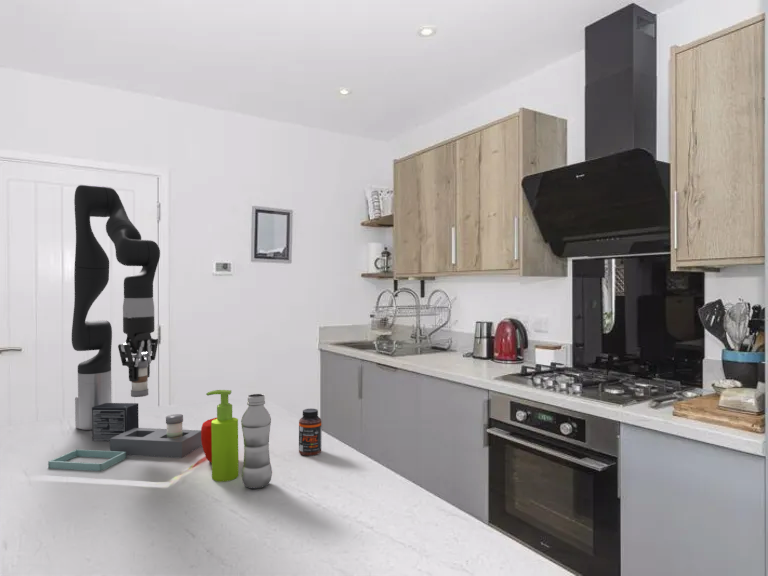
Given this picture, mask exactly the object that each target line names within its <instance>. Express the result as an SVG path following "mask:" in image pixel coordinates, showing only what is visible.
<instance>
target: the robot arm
mask: <svg viewBox="0 0 768 576" xmlns="http://www.w3.org/2000/svg"><path fill="white" fill-rule="evenodd" d="M73 201H74V202H73V203H74V220H75V222H74V223H75V250H74V251H75V255H74V277H73V278H74V280H73V281H74V302H73V303H74V306H73V315H72V324H71V326H72V327H71V345H72V348H73V350H74V351H76V352H87V351H88V352H89V351H97V350H98V352H97V354H96V355H94V356H92V357H91V358H89V359H87V360H84V361H81V362H80V363H78V365H77V396H76V397H75V399H74V410H75V411H74V415H75V417H74V418H75V419H74V420H75V421H74V422H75V423H74V426H75V429H76V428H77V429H79V430H83V431H84V430H85V431H89V430H91V431H92V407H94V406H98V405H101V404H104V403H113V402H112V398H113V396H112V341H113V329H112V328H113V327H112V325H111V322H110V321H109V320H103V319H102V320H87V321H86V319H87V316H88V313H89V311H90V309H91V307H92V305H93V304H94V302H95V301H96V300H97V299H98V298H99V296H100V295H102V293H103V291H104V290H105V289H106V287H107V285H108V283H109V280H110V258H109V256H108V255H107V253H106V251H105V250H104V248H103V247H102V245H101V244H100V242H99V241H98V240H97V237H95V234H94V232H93V229H92V226H91V217H92V218H94V217H96V218H108V219H107V221H106V224H105V231H106V235H107V237H109V239H110V240H111V242H112V243H113V244H114V248H115V257H116V258H115V259H116V260H117V262H118V263H119V264H121V265H123V266H127V267H141V269H140V271H139V273H136V274H132V275H128V276H126V277H124V278H123V279H124V280H123V304H122V326H123V327H122V332H123V334H126V335H127V336H126V340H125V342H124V343H119V344H118V345H117V349H118V353H119V356H120V357H119V358H120V360H121V365H122V366H125V367H128V381H129V382H131V381H132V382H136V381H138V367H137V366H138V362H139V360H147V361H148V367H147V375H148V378H150V377H151V376H150V373H151V371H150V370H151V369H150V368H151V365H150V364H152V361H155V360H156V356H157V350H158V344H159V339H158V338H152V333H155V302H154V280H155V276H156V272H157V268H158V265H159V261H160V258H161V249H160V247H159V245H158V244H157V242H155V241H154V240H152V239H150V240H149V239H142V235H141V233H140V231H139V230H138V229H137V227H136V226H135V225H134V224H133V223H132V221H131V220H130V219H129V217H128V214H127V212H126V209H125V207H124V204H123V202H122V200H121V198H120V195H119V194H118V192H117V191H116V190H115V188H113V187H111V186H107V185H106V186H104V185H92V184H78V185H77V186H76V188H75V192H74V199H73ZM133 361H134V362H133ZM132 382H131V383H132Z"/></svg>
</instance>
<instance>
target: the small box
mask: <svg viewBox="0 0 768 576" xmlns="http://www.w3.org/2000/svg"><path fill="white" fill-rule="evenodd" d="M133 428H140V427H139V403H136V402H135V403H133V402H130V403H129V402H127V403H126V402H112V403H104V404H101V405H98V406H94V407H92V430H91V431H92V436H91V437H92V441H93V442H110V438H113V437H115V436H117V435H119V434H122V433H124V432H126V431H128V430H131V429H133Z"/></svg>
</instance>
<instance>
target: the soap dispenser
mask: <svg viewBox="0 0 768 576" xmlns="http://www.w3.org/2000/svg"><path fill="white" fill-rule="evenodd" d="M231 394H232V390H231V389H230V390H229V389H215V390H211V391H208V392H207V393H206V394H205V395H206V396H212V395H220V403H219V404H218V405H217V406H216V418H217V419H214V420H212V422H211V431H212V463H211V479H212V480H213V481H215V482H218V483H219V482H222V483H224V482H229V481H230V482H231V481H233V480H235V479H237V478H238V477H239V473H240V472H239V419H238V418H237V417H234V416H233V404H232V403H229V396H230V395H231Z"/></svg>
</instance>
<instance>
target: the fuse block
mask: <svg viewBox="0 0 768 576" xmlns="http://www.w3.org/2000/svg"><path fill="white" fill-rule="evenodd" d="M183 422H184V415H183V414H180V413H175V414H169V415H166V416H165V424H166V428H152V427H149V428H148V427H139V428H133V429H131V430H128V431H126V432H124V433H122V434H119V435H117V436H115V437H113V438H110V441H109V451H119V452H126V456H138V457H139V456H140V457H157V458H159V457H160V458H175V459H176V458H177V459H183V458H185V457H186V456H188V455H190V454H191V453H193V452H194V451H195V450H197V449H199V448H200V447H202V442H201V429H200V430H198V429H194V430H193V429H183Z"/></svg>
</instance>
